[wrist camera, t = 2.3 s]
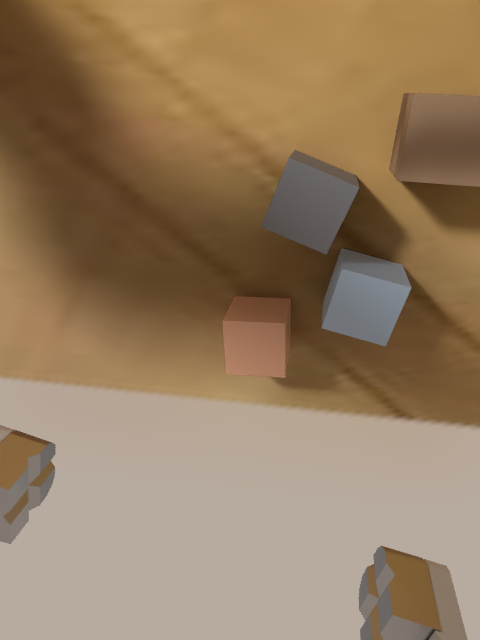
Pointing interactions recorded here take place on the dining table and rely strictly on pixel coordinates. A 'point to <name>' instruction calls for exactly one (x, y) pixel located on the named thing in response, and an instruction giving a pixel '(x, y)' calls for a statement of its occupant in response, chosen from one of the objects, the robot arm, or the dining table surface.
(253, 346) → the terracotta cube
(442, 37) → the dining table surface
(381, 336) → the dusty blue cube
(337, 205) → the charcoal cube
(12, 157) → the dining table surface
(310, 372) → the dining table surface
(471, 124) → the walnut cube
